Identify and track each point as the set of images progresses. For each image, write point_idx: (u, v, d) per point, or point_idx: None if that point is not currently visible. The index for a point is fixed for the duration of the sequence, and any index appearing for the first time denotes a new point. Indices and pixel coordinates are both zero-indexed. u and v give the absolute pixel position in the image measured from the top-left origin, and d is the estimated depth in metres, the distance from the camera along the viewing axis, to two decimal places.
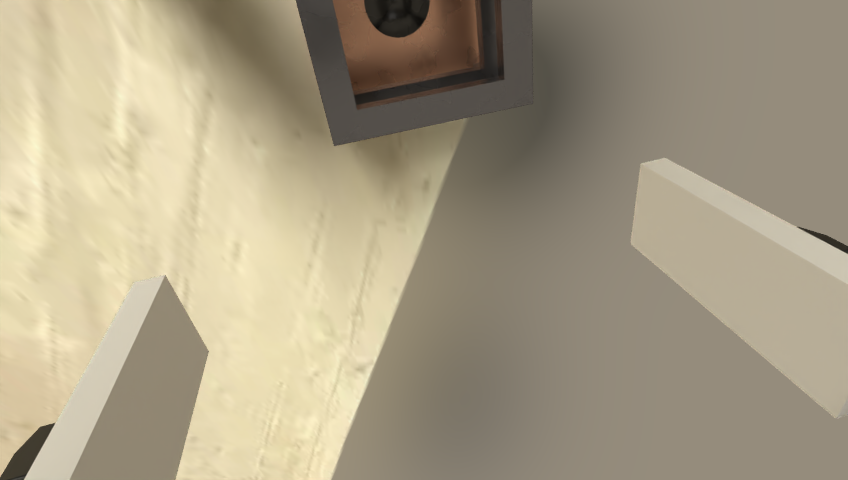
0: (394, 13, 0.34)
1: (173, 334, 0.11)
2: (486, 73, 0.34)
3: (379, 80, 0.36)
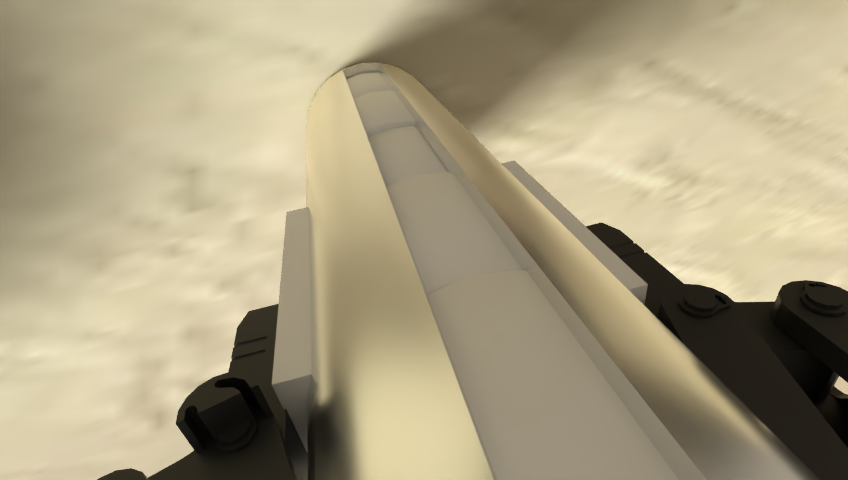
0: None
1: None
2: None
3: None
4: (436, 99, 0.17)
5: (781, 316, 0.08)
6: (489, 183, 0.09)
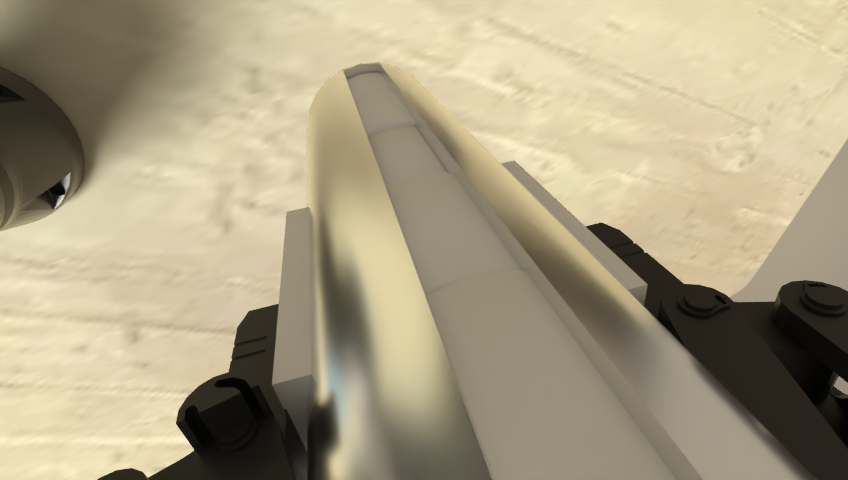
0: None
1: None
2: None
3: None
4: (436, 99, 0.17)
5: (781, 316, 0.08)
6: (489, 183, 0.09)
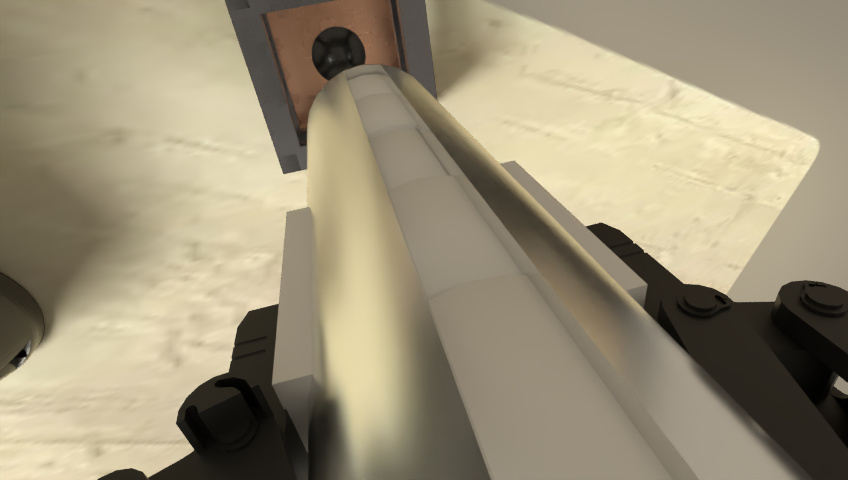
0: (347, 58, 0.43)
1: None
2: None
3: None
4: (437, 101, 0.17)
5: (781, 316, 0.08)
6: (490, 187, 0.09)
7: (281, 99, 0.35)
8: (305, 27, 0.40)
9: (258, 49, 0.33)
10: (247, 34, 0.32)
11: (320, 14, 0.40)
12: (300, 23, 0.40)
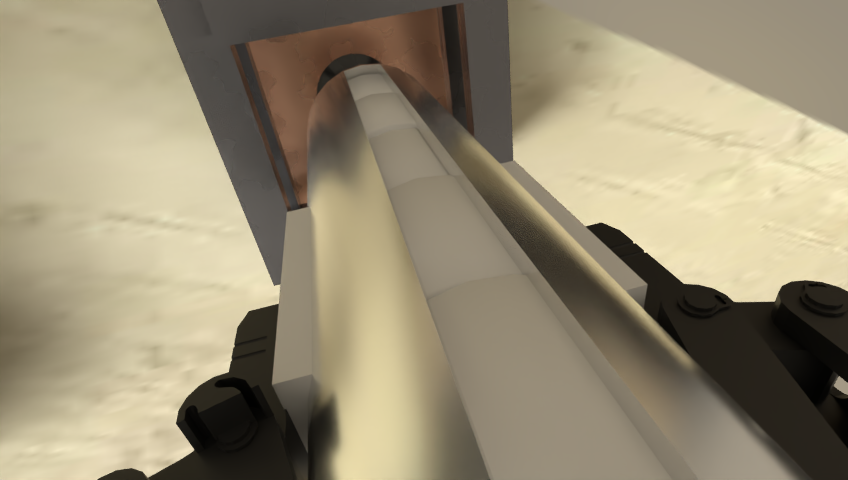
0: None
1: None
2: None
3: None
4: (437, 101, 0.17)
5: (781, 316, 0.08)
6: (490, 186, 0.09)
7: (269, 179, 0.22)
8: (308, 55, 0.27)
9: (229, 103, 0.19)
10: (209, 79, 0.19)
11: (329, 36, 0.27)
12: (301, 50, 0.27)
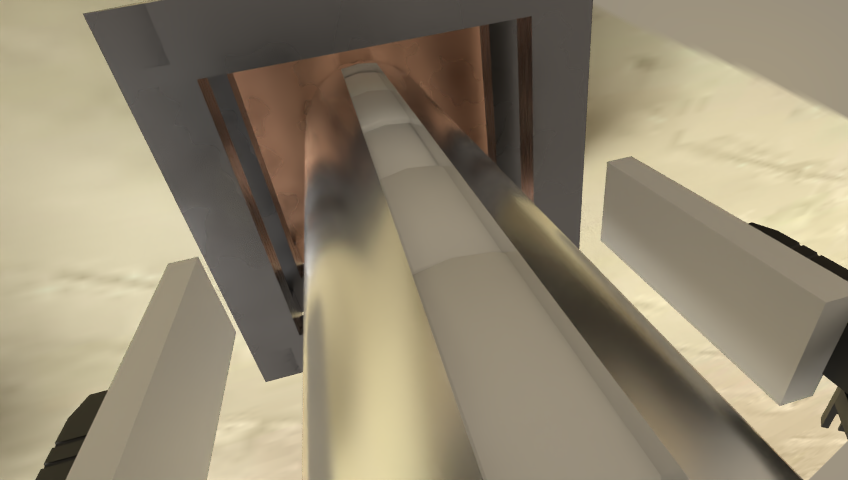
0: None
1: (206, 313, 0.11)
2: None
3: None
4: (431, 98, 0.18)
5: None
6: (476, 175, 0.10)
7: (257, 256, 0.16)
8: (310, 78, 0.21)
9: (198, 159, 0.14)
10: (168, 127, 0.13)
11: (338, 54, 0.21)
12: (301, 71, 0.21)
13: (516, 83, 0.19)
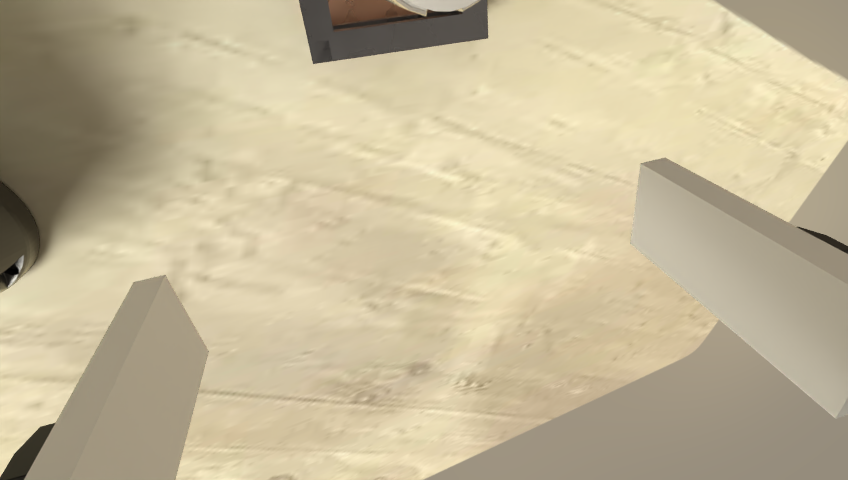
0: None
1: (173, 334, 0.11)
2: None
3: None
4: None
5: None
6: None
7: None
8: None
9: None
10: None
11: None
12: None
13: None
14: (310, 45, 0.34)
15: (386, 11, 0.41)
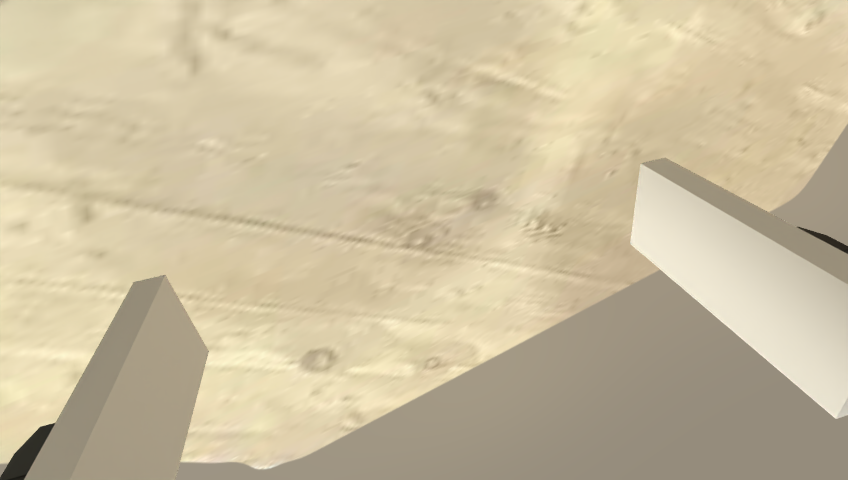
0: None
1: (173, 334, 0.11)
2: None
3: None
4: None
5: None
6: None
7: None
8: None
9: None
10: None
11: None
12: None
13: None
14: None
15: None
